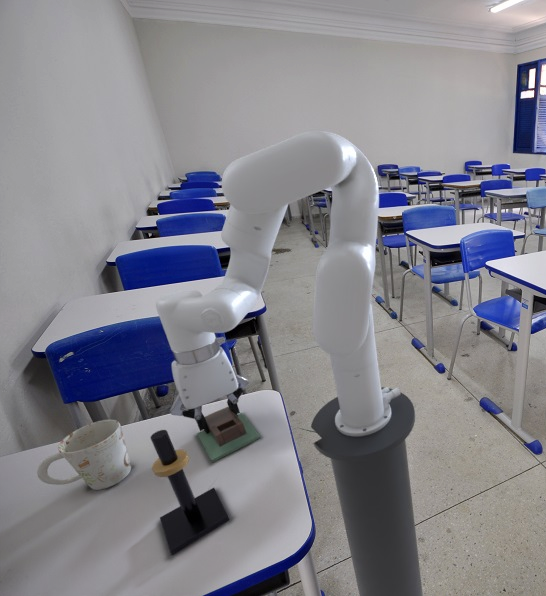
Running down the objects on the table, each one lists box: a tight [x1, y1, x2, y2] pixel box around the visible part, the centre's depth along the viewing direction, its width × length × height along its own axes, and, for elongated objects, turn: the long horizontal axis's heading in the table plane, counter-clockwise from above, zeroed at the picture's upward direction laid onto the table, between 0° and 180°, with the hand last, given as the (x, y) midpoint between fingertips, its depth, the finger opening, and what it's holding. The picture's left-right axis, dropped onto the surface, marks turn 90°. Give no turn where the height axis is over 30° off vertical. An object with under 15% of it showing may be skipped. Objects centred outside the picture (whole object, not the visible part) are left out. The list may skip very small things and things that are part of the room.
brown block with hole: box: [204, 406, 247, 447], centre depth 79 cm, size 12×5×2 cm, turn 45°
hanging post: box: [150, 429, 230, 556], centre depth 58 cm, size 8×8×18 cm
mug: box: [36, 419, 132, 491], centre depth 68 cm, size 8×13×10 cm, turn 124°
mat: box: [196, 412, 261, 463], centre depth 79 cm, size 9×11×1 cm
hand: (220, 423), depth 82 cm, fingers closed on brown block with hole, 5 cm apart
